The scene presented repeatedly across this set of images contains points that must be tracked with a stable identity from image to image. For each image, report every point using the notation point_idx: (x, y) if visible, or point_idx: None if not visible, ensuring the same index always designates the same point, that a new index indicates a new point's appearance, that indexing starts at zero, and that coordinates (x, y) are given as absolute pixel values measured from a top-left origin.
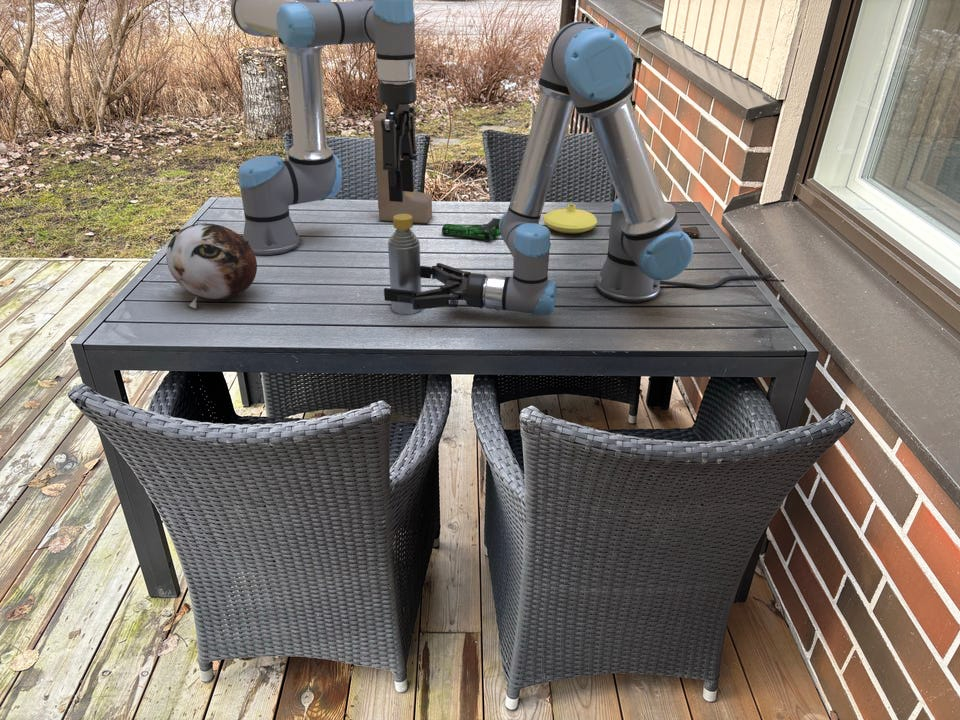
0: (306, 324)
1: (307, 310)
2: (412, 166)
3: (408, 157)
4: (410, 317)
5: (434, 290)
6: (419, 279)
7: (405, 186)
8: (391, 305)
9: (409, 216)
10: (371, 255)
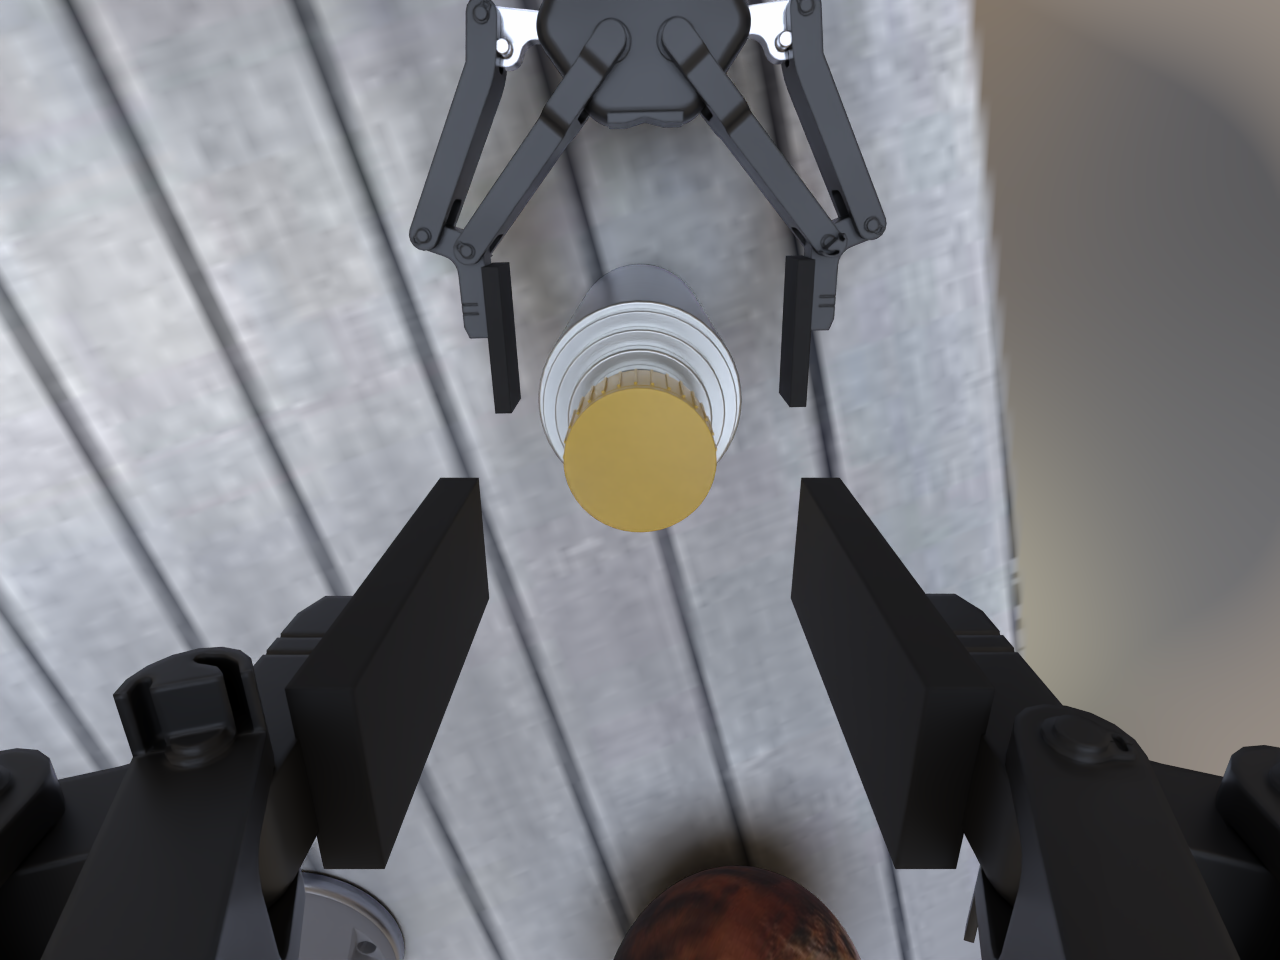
0: None
1: (750, 655)
2: (348, 632)
3: (272, 799)
4: (720, 284)
5: (761, 152)
6: (647, 277)
7: (475, 575)
8: None
9: (617, 414)
10: (222, 627)
